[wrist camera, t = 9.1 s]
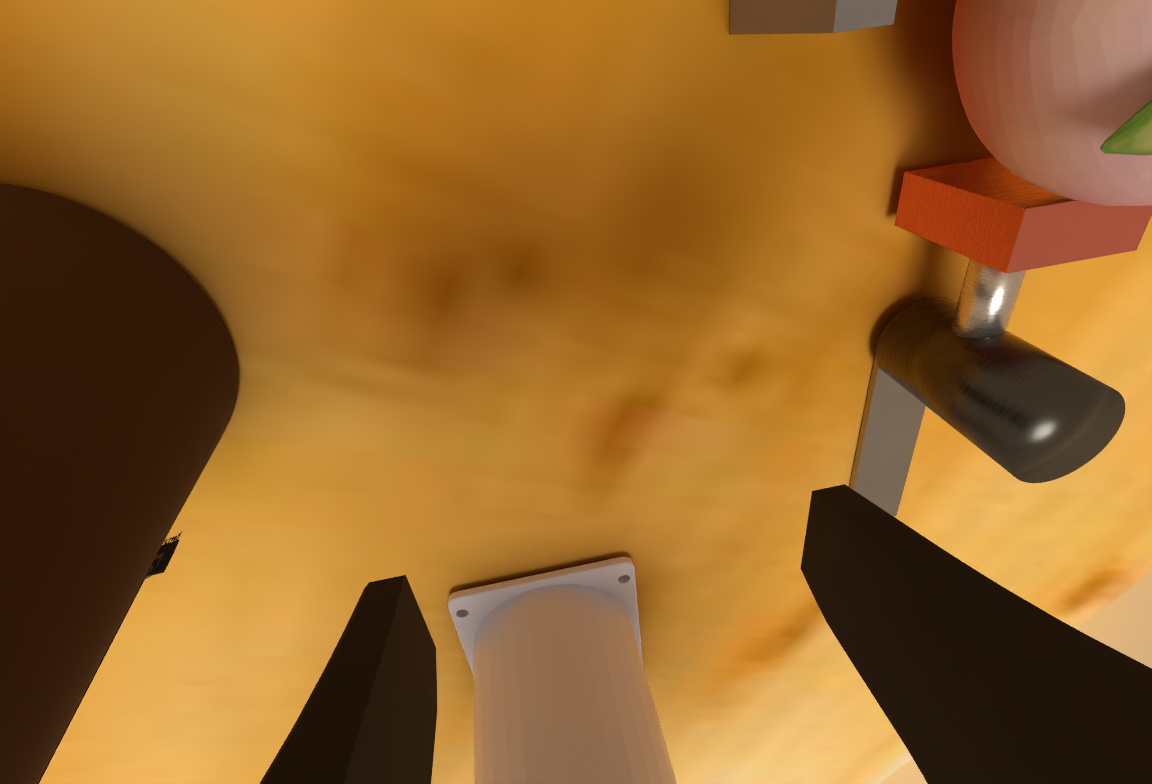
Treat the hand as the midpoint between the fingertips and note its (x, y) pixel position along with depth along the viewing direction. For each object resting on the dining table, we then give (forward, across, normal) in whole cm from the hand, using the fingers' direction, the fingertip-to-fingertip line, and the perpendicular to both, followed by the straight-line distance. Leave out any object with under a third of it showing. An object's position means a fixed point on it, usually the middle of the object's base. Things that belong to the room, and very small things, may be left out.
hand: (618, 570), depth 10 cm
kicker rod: (+9, -13, 0) cm, 16 cm away
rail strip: (+10, -13, +8) cm, 18 cm away
